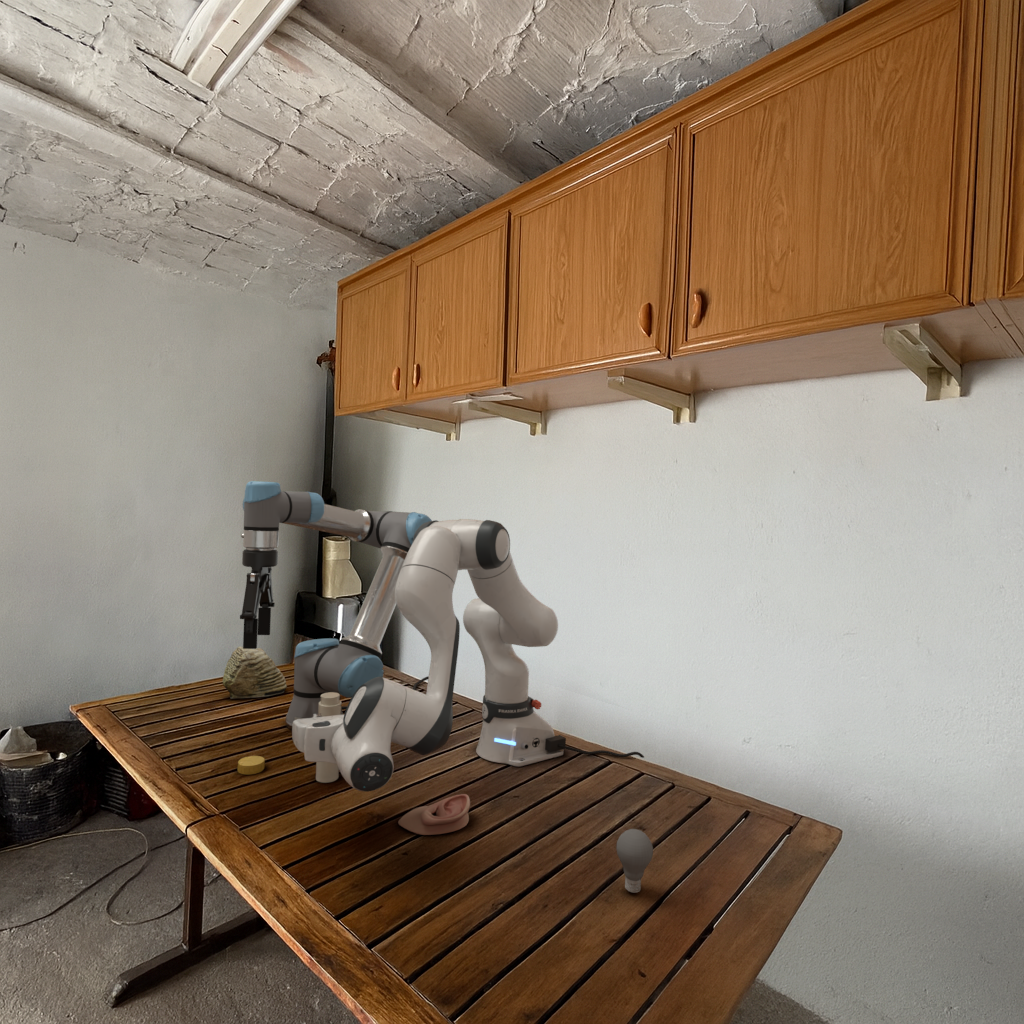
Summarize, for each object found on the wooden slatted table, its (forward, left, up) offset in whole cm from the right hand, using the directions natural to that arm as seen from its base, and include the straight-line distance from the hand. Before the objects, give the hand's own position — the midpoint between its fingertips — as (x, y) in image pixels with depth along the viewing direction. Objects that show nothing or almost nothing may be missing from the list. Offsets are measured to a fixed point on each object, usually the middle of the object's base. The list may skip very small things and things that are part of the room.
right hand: (340, 714), depth 131 cm
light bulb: (-40, +48, -18) cm, 65 cm away
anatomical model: (-16, +14, -18) cm, 29 cm away
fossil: (+12, -79, -18) cm, 82 cm away
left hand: (+15, -23, +11) cm, 29 cm away
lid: (+15, -22, -17) cm, 32 cm away
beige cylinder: (0, -12, -18) cm, 22 cm away
